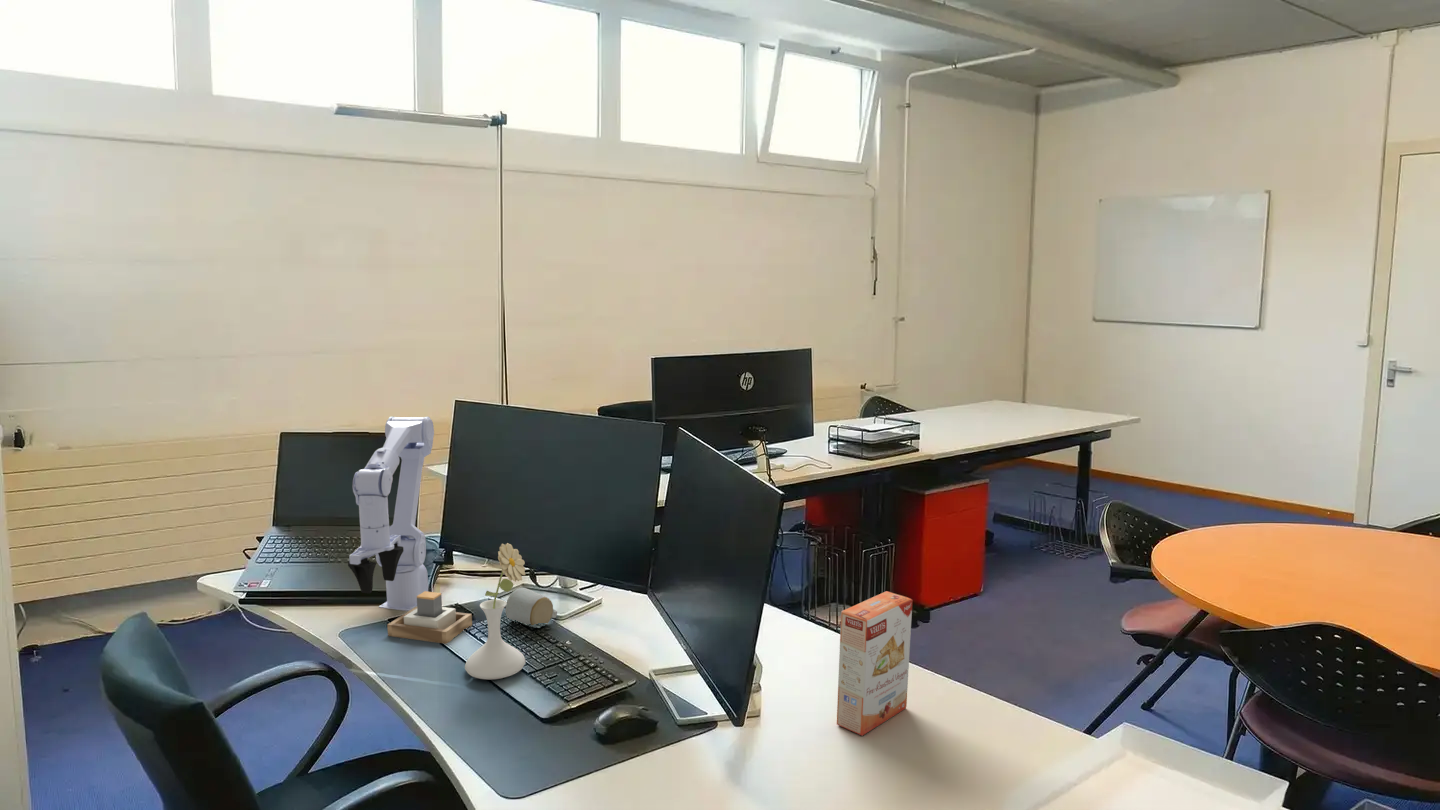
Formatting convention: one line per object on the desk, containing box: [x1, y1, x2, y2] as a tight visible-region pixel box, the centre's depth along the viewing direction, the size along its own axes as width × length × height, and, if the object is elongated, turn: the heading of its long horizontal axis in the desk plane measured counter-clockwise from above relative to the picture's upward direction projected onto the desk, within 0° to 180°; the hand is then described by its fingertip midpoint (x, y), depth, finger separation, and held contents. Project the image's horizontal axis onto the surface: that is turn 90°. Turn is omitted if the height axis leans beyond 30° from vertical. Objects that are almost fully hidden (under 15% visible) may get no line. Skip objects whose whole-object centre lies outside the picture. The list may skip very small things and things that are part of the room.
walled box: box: [386, 606, 473, 645], centre depth 191 cm, size 10×14×3 cm
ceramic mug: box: [504, 587, 558, 625], centre depth 197 cm, size 11×8×8 cm
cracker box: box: [836, 590, 914, 736], centre depth 155 cm, size 14×6×21 cm, turn 136°
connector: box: [416, 591, 443, 618], centre depth 191 cm, size 3×4×7 cm
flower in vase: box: [464, 542, 526, 680], centre depth 172 cm, size 13×11×25 cm
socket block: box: [404, 606, 457, 630], centre depth 191 cm, size 7×8×4 cm
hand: (378, 586), depth 191 cm, fingers open, 7 cm apart
